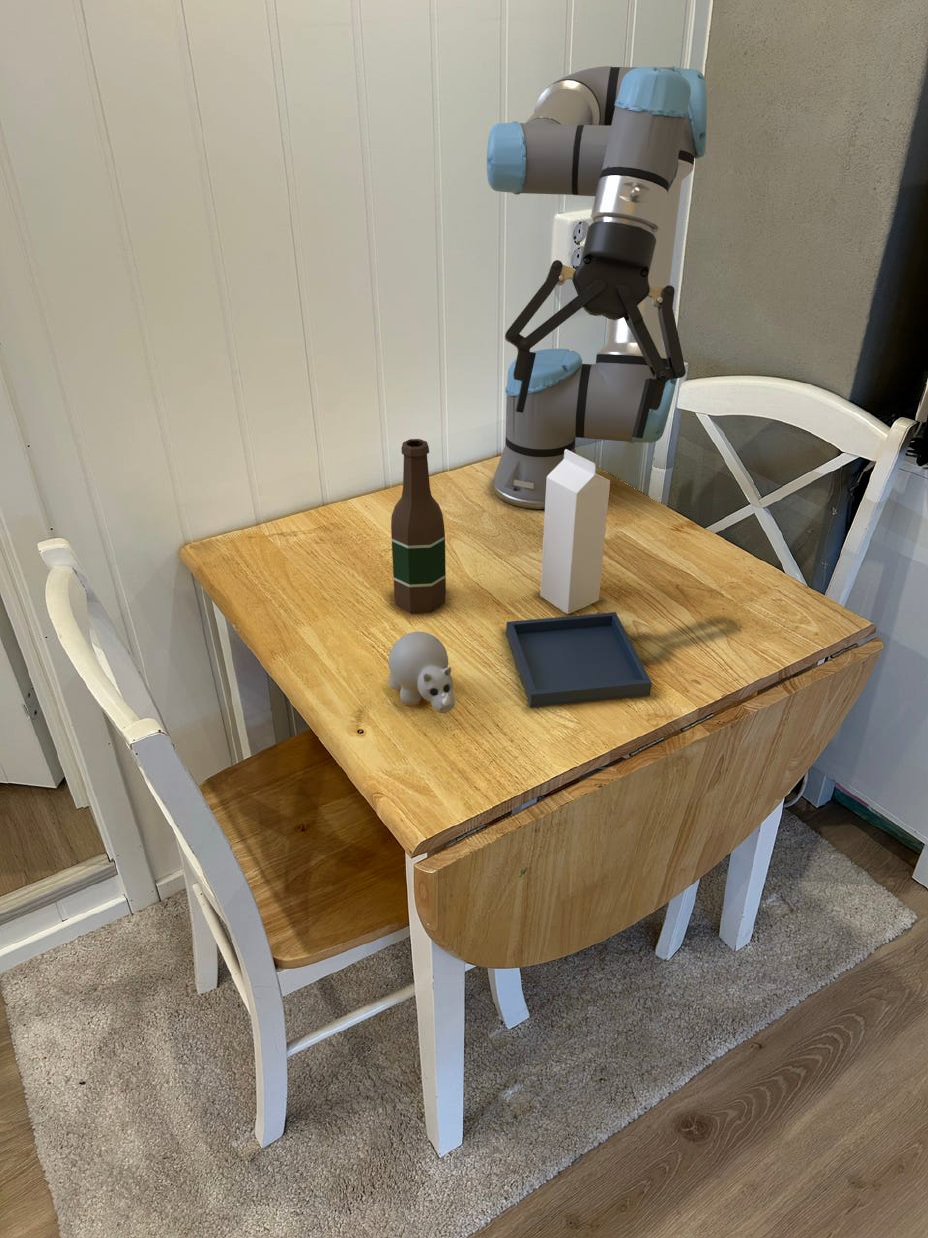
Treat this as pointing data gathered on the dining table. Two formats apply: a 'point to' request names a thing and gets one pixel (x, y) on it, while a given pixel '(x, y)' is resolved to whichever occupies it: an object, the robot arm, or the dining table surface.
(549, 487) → the milk
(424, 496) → the beer bottle
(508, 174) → the robot arm
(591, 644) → the tray
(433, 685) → the toy rhinoceros
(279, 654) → the dining table surface
